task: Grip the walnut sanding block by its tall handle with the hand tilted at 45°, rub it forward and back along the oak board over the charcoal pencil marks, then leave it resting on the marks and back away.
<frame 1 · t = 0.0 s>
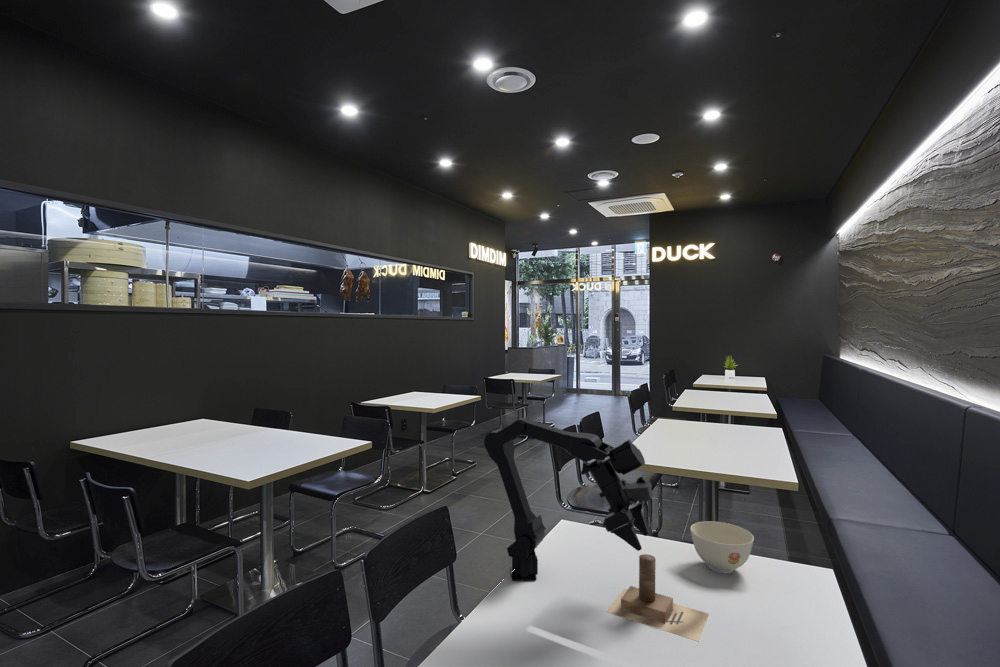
hand: (643, 542, 120), 15 cm above the table, tool tilted 35°, fingers open, 9 cm apart
oak board: (657, 617, 114), on the table
sanding block: (646, 609, 116), point 1 cm above the table, touching oak board
bowl: (721, 569, 138), on the table
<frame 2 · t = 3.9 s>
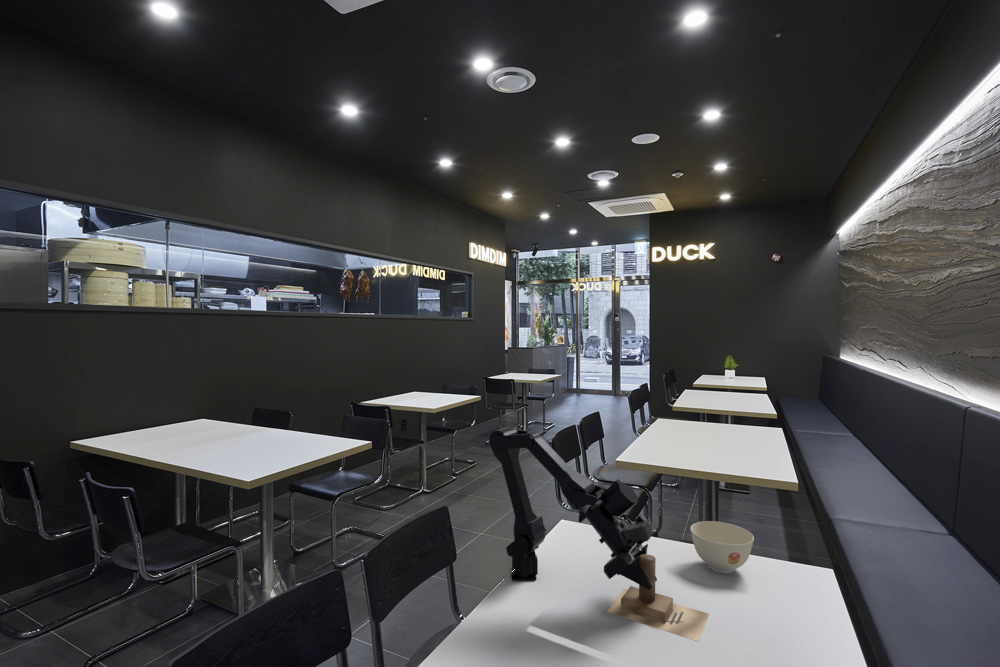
hand: (653, 585, 115), 7 cm above the table, tool tilted 45°, fingers closed on sanding block, 4 cm apart
sanding block: (646, 609, 116), point 1 cm above the table, touching gripper, oak board
everything else where it was.
when the fingers open (7 cm above the table, at t = 8.3 s): sanding block stays where it is, resting on oak board.
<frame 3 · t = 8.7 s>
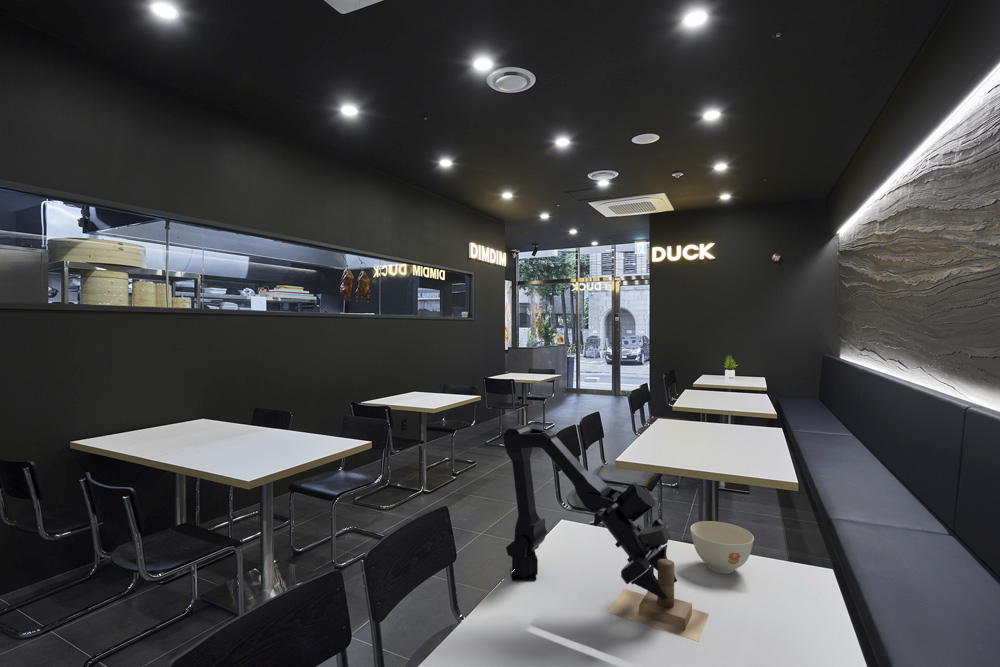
hand: (671, 590, 113), 7 cm above the table, tool tilted 45°, fingers open, 8 cm apart
sanding block: (665, 615, 114), point 1 cm above the table, touching oak board
everything else where it was.
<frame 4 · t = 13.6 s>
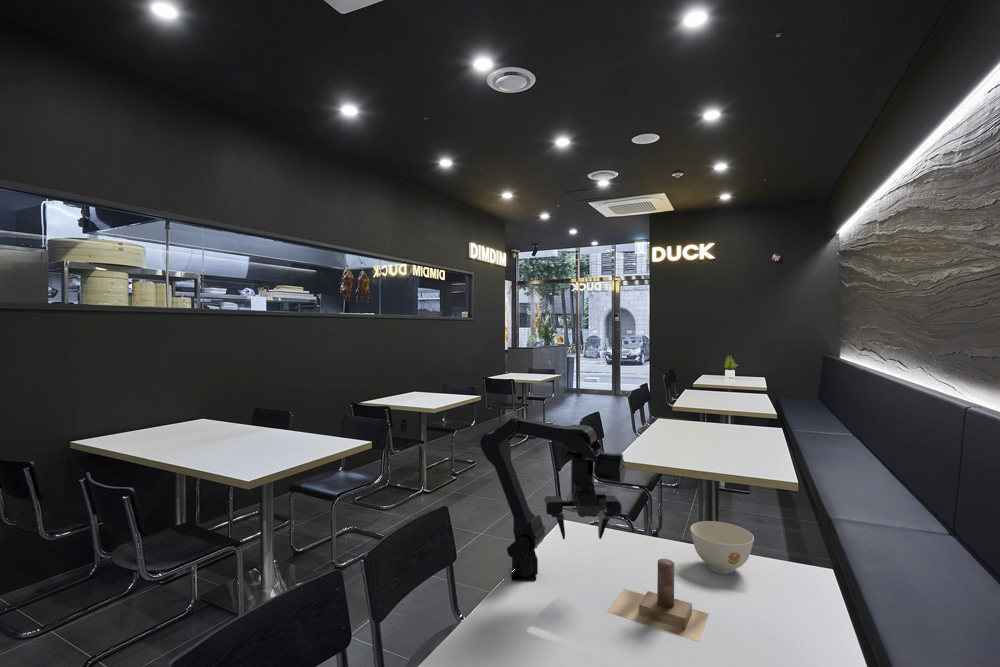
hand: (581, 538, 126), 13 cm above the table, tool pointing down, fingers open, 9 cm apart
nothing on the table moved.
at the end: sanding block 0.1 cm from the target spot on the oak board, point 1.0 cm above the oak board's base; sanding block tilted 0°; the gripper is holding nothing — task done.
